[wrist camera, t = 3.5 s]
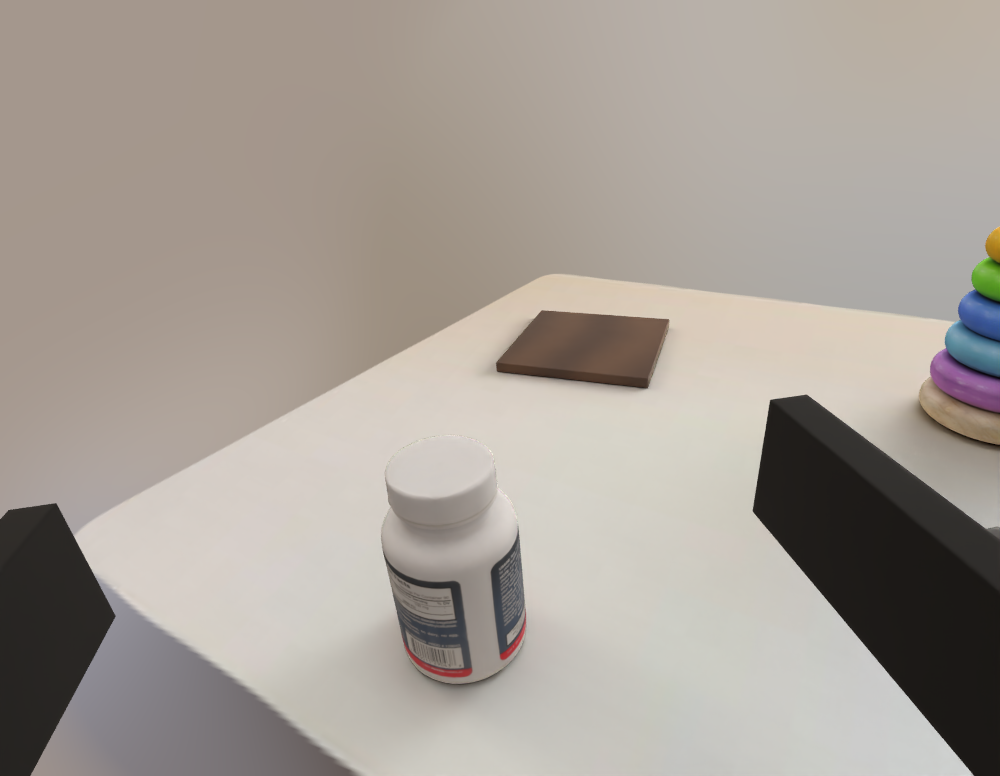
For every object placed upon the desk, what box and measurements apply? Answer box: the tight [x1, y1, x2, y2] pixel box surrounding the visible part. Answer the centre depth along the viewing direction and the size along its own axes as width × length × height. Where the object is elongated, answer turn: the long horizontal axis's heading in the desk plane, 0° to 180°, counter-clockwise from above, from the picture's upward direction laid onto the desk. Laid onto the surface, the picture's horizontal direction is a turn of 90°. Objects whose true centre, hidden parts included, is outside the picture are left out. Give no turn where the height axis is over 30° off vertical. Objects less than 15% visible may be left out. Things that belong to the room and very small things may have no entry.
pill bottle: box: [381, 435, 526, 684], centre depth 23 cm, size 5×5×9 cm
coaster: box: [496, 311, 669, 388], centre depth 50 cm, size 12×12×1 cm
